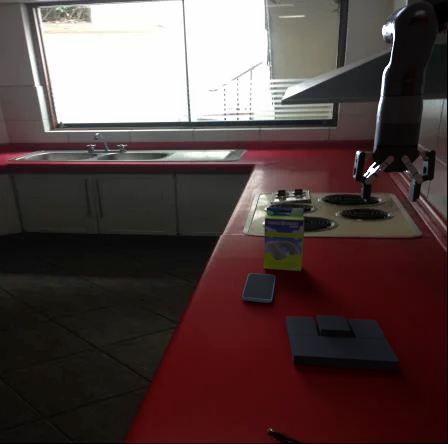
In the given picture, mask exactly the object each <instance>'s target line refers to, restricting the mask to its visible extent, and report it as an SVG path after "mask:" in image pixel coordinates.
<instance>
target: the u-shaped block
mask: <svg viewBox="0 0 448 444" xmlns="http://www.w3.org/2000/svg"><path fill="white" fill-rule="evenodd" d="M346 322H347V324H348V326H349V329H350V337H331V336H318V332H317V329H316V322H315V319H314V317H313V316H293V315H292V316H289V315H286V317H285V326H286V327H285V328H286V331H287V332H286V333H287V337H288V343H289V348H290V352H291V358H292V363H293V365H299V366H313V367H316V366H317V367H330V368H331V367H332V368H347V369H360V370H361V369H363V370H376V371H393V372H394V371H395V372H398V371H399V366H400V360H399V359H398V356H397V355H396V353H395V352H394V350H393V348H392V346H391V345H390V343H389V341H388V339H387V338H386V335H385V334H384V332H383V330H382V329H381V327H380V325H379V324H378V322H377V320H376V319H357V318H347V320H346Z"/></svg>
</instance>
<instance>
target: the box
mask: <svg viewBox="0 0 448 444" xmlns="http://www.w3.org/2000/svg"><path fill="white" fill-rule="evenodd" d="M284 210H285V211H287V212H280V211H284ZM304 211H305V208H304V207H303V208H302V207H274V206H273V207H272V206H271V207H266V214H264V229H263V230H264V234H263V235H264V237H263V242H264V243H263V264H262V265H263V266H262V267H263V269H264V270H265V269H267V270H281V271H291V272H292V271H293V272H302V268H303V267H302V265H303V255H304V254H303V253H304V241H305V215H304Z"/></svg>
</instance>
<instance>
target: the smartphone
mask: <svg viewBox="0 0 448 444" xmlns="http://www.w3.org/2000/svg"><path fill="white" fill-rule="evenodd" d="M275 285H276V275H274V274H269V273H268V274H265V273H253V272H251V273H248V274H247V278H246V281H245V285H244V288H243V291H242V294H241V299H242V300H243V301H247V302H254V303H255V302H257V303H266V304H269V303H272V302H273V298H274V292H275Z"/></svg>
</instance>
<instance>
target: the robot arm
mask: <svg viewBox="0 0 448 444" xmlns="http://www.w3.org/2000/svg"><path fill="white" fill-rule="evenodd" d="M381 30H382V31H381V32H382V38H383V40H384V42H385V43H386V45H388V46H389V47H391V48H392V49H391V54H390V60H389V63H388V64H387V65H386V66H385V67H384V70H383V72H382V78H381V79H382V80H381V88H380V97H379V102H378V106H377V114H376V118H375V119H376V124H375V134H374V145H373V149H372V150H371V151H365V150H364V151H363V150H361V149H358V150H356V152H355V158H354V165H353V171H352V178H353V180H355V182H359V183H360V184H361V190H360V197H361V199H362V200H363V201H364V202H365V203H370V202H371V199H372V198H371V197H372V187H373V184H372V182H374V181H375V179H376V178H377V177H379V176H380V175H381V174H382V173H383V172H384V173H385V174H390V173H394V172H395V173H398V174H399V173H404V172H405V173H406V174H407V175H408V176H409V178H410V179H411V181H410V183H409V188H408V190H409V191H408V201H409V202H411V203H416V202H417V200H419V199H420V197H421V190H422V185H423V183H425V182H428V181H433V180H434V179H435V169H436V157H437V155H436V154H437V152H436V150H434V149H432V148H429V147H427V148H425V149H419V142H420V133H421V127H422V126H421V125H422V120H423V119H422V118H423V111H424V91H425V85H426V84H425V83H426V73H427V68H428V65H429V62H430V60H431V57H432V54H433V51H434V48H435V44H436V41H437V37H438V35H439V34H441V33H444V32H446V31H448V0H420V1H415V2H412V3H409V4H407V5H405V6H403V7H400V8H398V9H397V10H395V11H393V12H392V13H391V14H390V15H388V17H387V19H386V20H385V22H384V23H383V26H382V29H381ZM419 157H420V160H421V161H422V171H421V173H419V171H418V169H417V167H415V165H414V162H416V160H417V159H418V158H419ZM370 158H371V159H372V161H373V162H374V163H373V164H372V165H371V166H370V167H369V168H368V170H367V172H366V173H364V169H365V163H367V162H368V161H369V160H370ZM363 174H364V175H363Z"/></svg>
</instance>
